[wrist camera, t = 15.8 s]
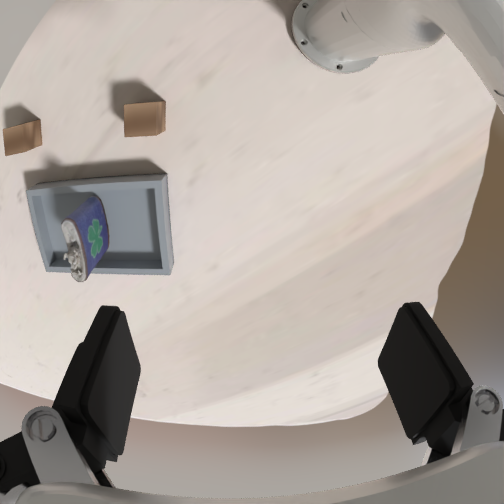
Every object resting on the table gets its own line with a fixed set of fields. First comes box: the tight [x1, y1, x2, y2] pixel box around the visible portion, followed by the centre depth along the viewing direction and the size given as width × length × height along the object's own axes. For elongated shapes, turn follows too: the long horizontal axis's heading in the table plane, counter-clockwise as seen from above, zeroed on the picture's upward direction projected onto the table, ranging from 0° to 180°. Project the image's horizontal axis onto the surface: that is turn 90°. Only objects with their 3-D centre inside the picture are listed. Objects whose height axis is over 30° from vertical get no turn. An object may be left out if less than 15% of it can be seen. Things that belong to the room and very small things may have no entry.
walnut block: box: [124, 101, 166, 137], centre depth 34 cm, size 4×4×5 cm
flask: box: [61, 196, 110, 282], centre depth 37 cm, size 9×3×11 cm, turn 177°
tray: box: [26, 174, 174, 275], centre depth 41 cm, size 14×22×4 cm, turn 88°
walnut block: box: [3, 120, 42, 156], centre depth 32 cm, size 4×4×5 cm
